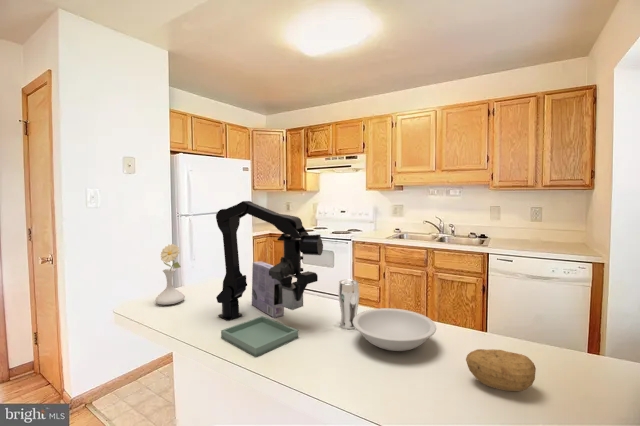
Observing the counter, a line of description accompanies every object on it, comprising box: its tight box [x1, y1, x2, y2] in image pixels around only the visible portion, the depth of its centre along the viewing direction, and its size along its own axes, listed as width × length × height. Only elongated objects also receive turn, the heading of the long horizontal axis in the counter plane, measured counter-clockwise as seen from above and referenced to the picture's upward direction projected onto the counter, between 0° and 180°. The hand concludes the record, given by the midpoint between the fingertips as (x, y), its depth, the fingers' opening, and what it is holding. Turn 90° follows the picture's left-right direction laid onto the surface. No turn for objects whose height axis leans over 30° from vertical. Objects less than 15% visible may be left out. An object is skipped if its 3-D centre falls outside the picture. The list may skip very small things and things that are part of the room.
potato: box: [465, 348, 537, 392], centre depth 74 cm, size 10×14×8 cm
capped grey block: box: [282, 282, 304, 311], centre depth 110 cm, size 5×5×7 cm
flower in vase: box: [154, 243, 186, 306], centre depth 134 cm, size 13×11×25 cm
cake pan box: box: [251, 261, 285, 319], centre depth 124 cm, size 19×5×18 cm, turn 38°
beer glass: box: [338, 279, 360, 330], centre depth 109 cm, size 7×7×15 cm
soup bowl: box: [353, 307, 437, 352], centre depth 95 cm, size 24×24×7 cm
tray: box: [220, 315, 299, 358], centre depth 100 cm, size 18×16×2 cm
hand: (292, 299), depth 110 cm, fingers closed on capped grey block, 5 cm apart
